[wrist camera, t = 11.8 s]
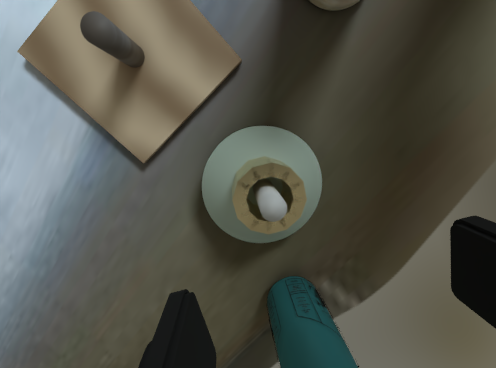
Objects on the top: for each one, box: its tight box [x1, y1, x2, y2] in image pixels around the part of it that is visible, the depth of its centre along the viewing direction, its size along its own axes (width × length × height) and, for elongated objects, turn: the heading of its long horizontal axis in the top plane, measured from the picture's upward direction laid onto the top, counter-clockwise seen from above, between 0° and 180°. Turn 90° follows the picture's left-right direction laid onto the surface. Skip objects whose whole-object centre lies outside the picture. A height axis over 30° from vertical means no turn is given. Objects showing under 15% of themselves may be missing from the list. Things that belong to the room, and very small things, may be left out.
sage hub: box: [202, 126, 322, 243], centre depth 21 cm, size 12×12×9 cm
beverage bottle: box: [266, 276, 359, 368], centre depth 20 cm, size 6×7×20 cm
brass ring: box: [232, 156, 307, 235], centre depth 21 cm, size 6×6×4 cm
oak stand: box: [17, 0, 242, 163], centre depth 19 cm, size 14×14×7 cm
